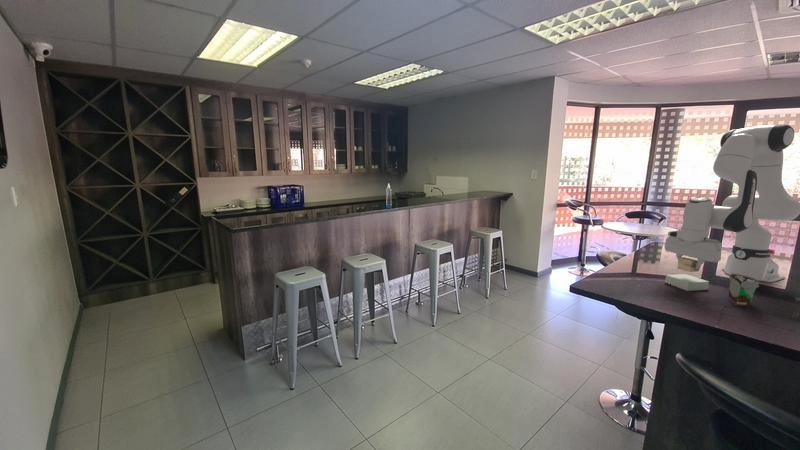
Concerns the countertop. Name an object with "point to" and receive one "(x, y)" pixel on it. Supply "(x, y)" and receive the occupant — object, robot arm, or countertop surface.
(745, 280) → the food container
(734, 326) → the countertop surface
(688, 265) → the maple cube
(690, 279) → the sage block
